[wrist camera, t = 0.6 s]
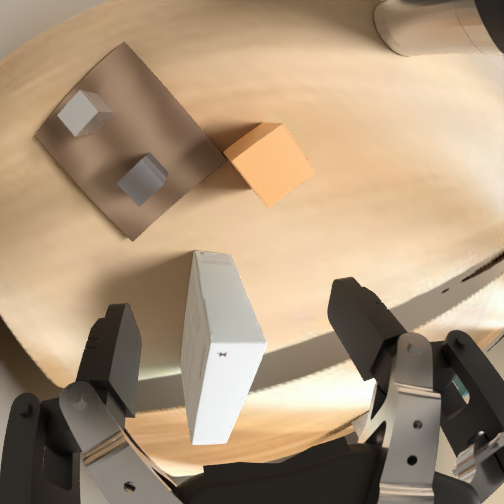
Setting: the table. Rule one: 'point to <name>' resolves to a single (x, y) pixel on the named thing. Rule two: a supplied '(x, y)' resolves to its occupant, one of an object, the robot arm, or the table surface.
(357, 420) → the ink cartridge box
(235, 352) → the skincare box
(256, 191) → the peach wooden cube
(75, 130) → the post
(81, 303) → the table surface
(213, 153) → the post board
